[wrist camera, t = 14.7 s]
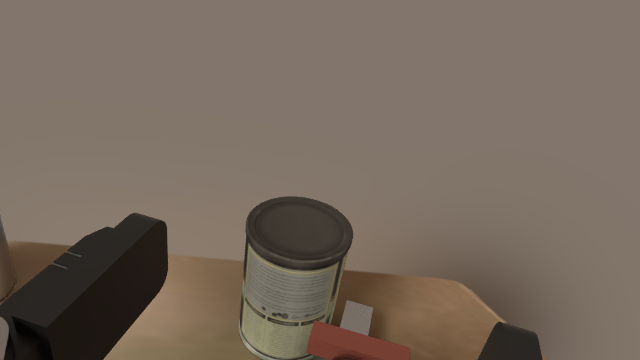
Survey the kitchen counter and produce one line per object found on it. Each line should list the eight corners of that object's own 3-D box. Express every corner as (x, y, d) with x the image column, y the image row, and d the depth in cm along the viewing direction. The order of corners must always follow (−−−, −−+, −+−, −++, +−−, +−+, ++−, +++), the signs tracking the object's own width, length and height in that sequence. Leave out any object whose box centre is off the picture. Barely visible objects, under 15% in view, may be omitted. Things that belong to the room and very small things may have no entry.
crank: (329, 308, 51) (356, 186, 43) (384, 324, 50) (423, 203, 42) (274, 490, 34) (302, 348, 26) (355, 519, 33) (411, 381, 25)
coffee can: (227, 301, 52) (234, 200, 45) (309, 286, 56) (327, 191, 49) (252, 377, 44) (264, 270, 37) (345, 352, 48) (372, 251, 41)
